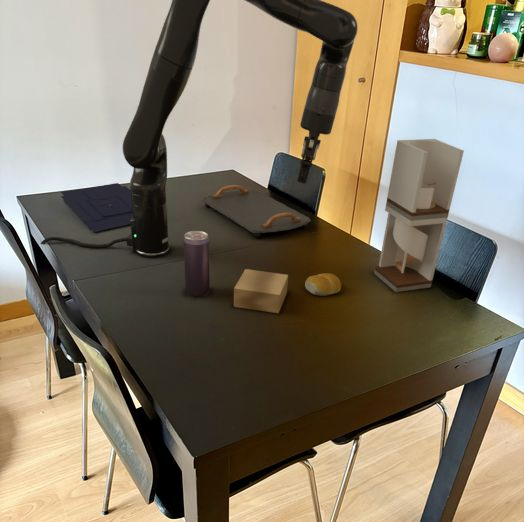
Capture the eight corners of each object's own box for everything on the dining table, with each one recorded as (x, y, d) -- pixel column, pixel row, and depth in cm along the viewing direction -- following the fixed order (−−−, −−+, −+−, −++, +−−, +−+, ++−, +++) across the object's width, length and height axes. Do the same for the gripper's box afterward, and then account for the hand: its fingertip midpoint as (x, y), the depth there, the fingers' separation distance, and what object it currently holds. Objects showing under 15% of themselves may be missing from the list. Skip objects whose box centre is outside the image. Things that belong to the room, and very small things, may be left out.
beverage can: (205, 299, 133) (204, 241, 125) (182, 296, 134) (179, 238, 126) (212, 288, 138) (212, 232, 130) (189, 285, 139) (188, 229, 131)
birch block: (233, 306, 131) (233, 288, 128) (244, 286, 140) (245, 268, 137) (278, 313, 129) (279, 294, 126) (286, 292, 138) (288, 274, 135)
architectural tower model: (373, 273, 150) (397, 140, 130) (407, 269, 153) (434, 138, 134) (395, 292, 141) (424, 152, 122) (430, 287, 144) (463, 150, 125)
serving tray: (196, 204, 189) (195, 187, 186) (252, 195, 201) (252, 178, 197) (257, 243, 163) (258, 224, 160) (317, 230, 174) (319, 211, 171)
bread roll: (346, 291, 140) (348, 277, 138) (318, 299, 136) (320, 285, 134) (326, 278, 146) (328, 265, 143) (299, 286, 141) (300, 272, 139)
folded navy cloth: (123, 189, 195) (122, 179, 193) (164, 225, 178) (164, 215, 176) (55, 200, 182) (54, 190, 180) (93, 240, 165) (92, 229, 163)
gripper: (306, 102, 133) (290, 169, 141) (302, 108, 121) (285, 181, 129) (336, 110, 133) (318, 176, 141) (335, 117, 121) (316, 189, 129)
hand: (302, 178), depth 135 cm, fingers open, 8 cm apart
